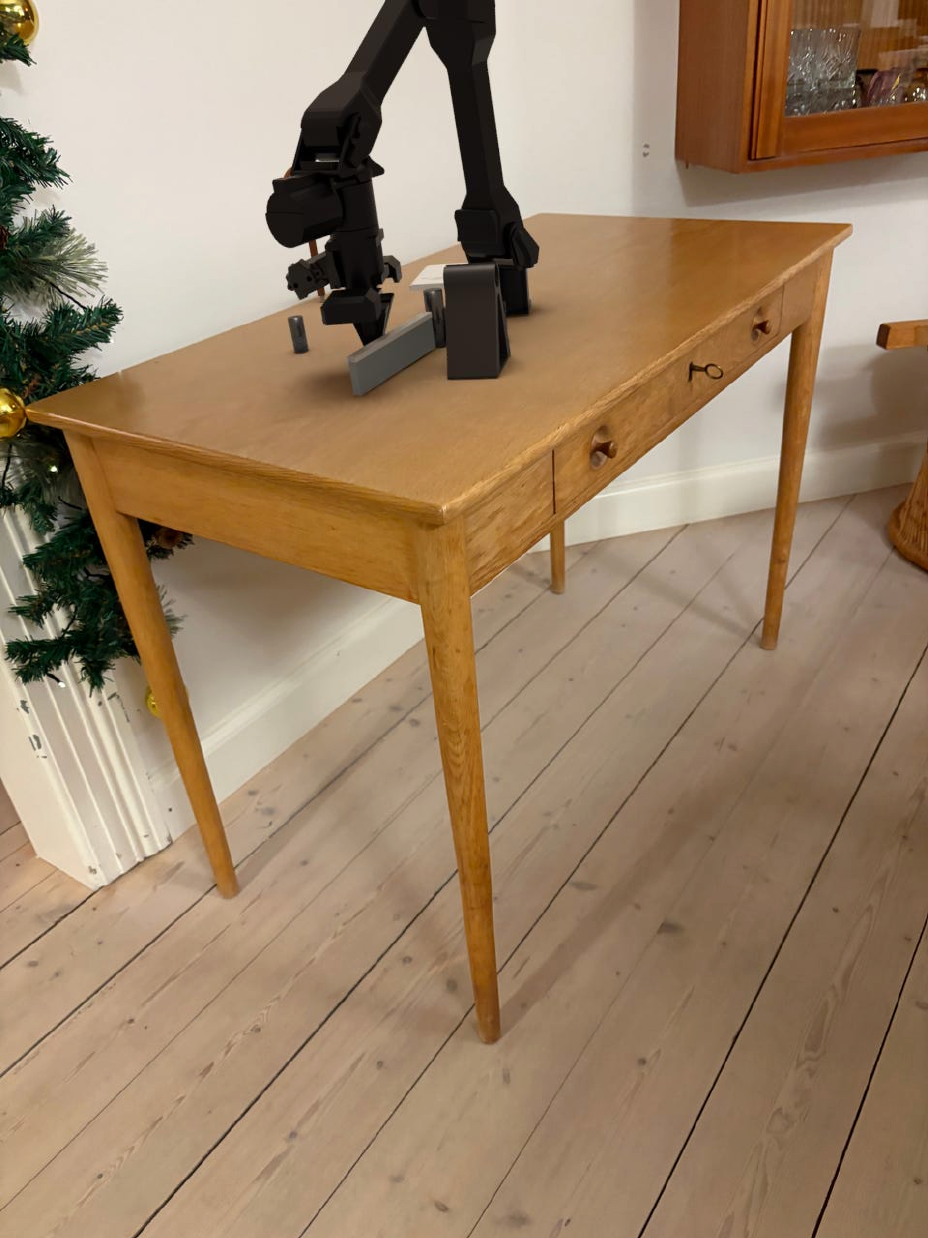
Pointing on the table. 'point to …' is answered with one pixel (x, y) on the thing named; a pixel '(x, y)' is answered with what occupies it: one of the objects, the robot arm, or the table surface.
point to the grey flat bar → (391, 353)
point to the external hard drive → (430, 278)
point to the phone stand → (474, 321)
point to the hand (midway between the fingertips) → (374, 359)
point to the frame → (432, 304)
